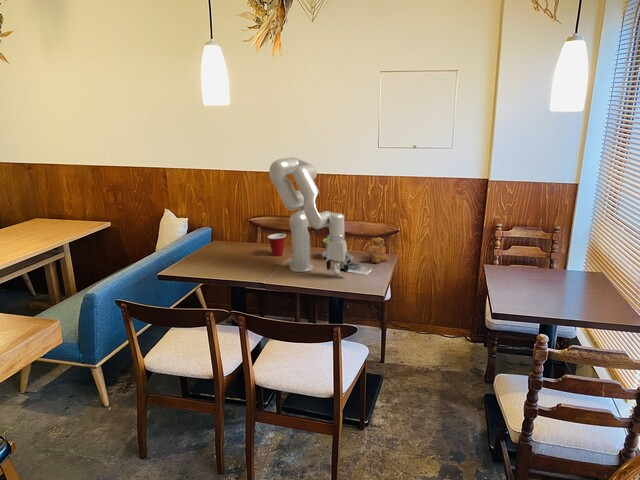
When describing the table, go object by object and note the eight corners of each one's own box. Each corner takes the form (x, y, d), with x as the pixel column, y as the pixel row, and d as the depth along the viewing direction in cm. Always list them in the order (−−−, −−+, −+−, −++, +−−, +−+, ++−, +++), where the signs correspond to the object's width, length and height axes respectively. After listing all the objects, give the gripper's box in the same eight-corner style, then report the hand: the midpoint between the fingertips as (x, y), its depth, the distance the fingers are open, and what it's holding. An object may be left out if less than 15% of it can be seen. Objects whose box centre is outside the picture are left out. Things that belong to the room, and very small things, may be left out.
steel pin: (332, 276, 248) (332, 261, 246) (335, 274, 251) (335, 260, 249) (338, 277, 247) (338, 262, 245) (340, 275, 249) (340, 260, 247)
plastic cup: (270, 251, 290) (269, 232, 287) (288, 252, 289) (287, 233, 286) (266, 257, 280) (265, 237, 277) (284, 258, 278) (283, 238, 275)
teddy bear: (390, 259, 276) (391, 236, 272) (380, 266, 264) (381, 243, 260) (374, 256, 280) (374, 234, 277) (364, 263, 268) (364, 240, 265)
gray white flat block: (335, 269, 258) (335, 264, 257) (340, 265, 264) (340, 260, 263) (366, 274, 250) (366, 269, 249) (371, 270, 256) (371, 265, 255)
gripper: (318, 238, 244) (319, 270, 248) (349, 241, 236) (349, 274, 241) (325, 234, 250) (325, 266, 255) (355, 238, 242) (355, 270, 247)
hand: (337, 270), depth 248 cm, fingers open, 9 cm apart
